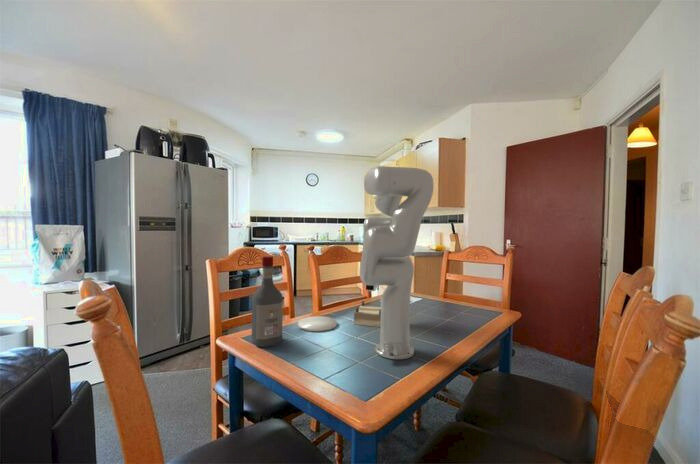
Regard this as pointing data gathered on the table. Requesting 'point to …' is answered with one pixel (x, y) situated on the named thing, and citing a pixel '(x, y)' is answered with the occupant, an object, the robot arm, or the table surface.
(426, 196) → the robot arm
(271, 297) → the liquor
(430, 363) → the table surface
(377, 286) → the white rounded piece
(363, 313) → the pegged square board
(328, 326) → the white plate
